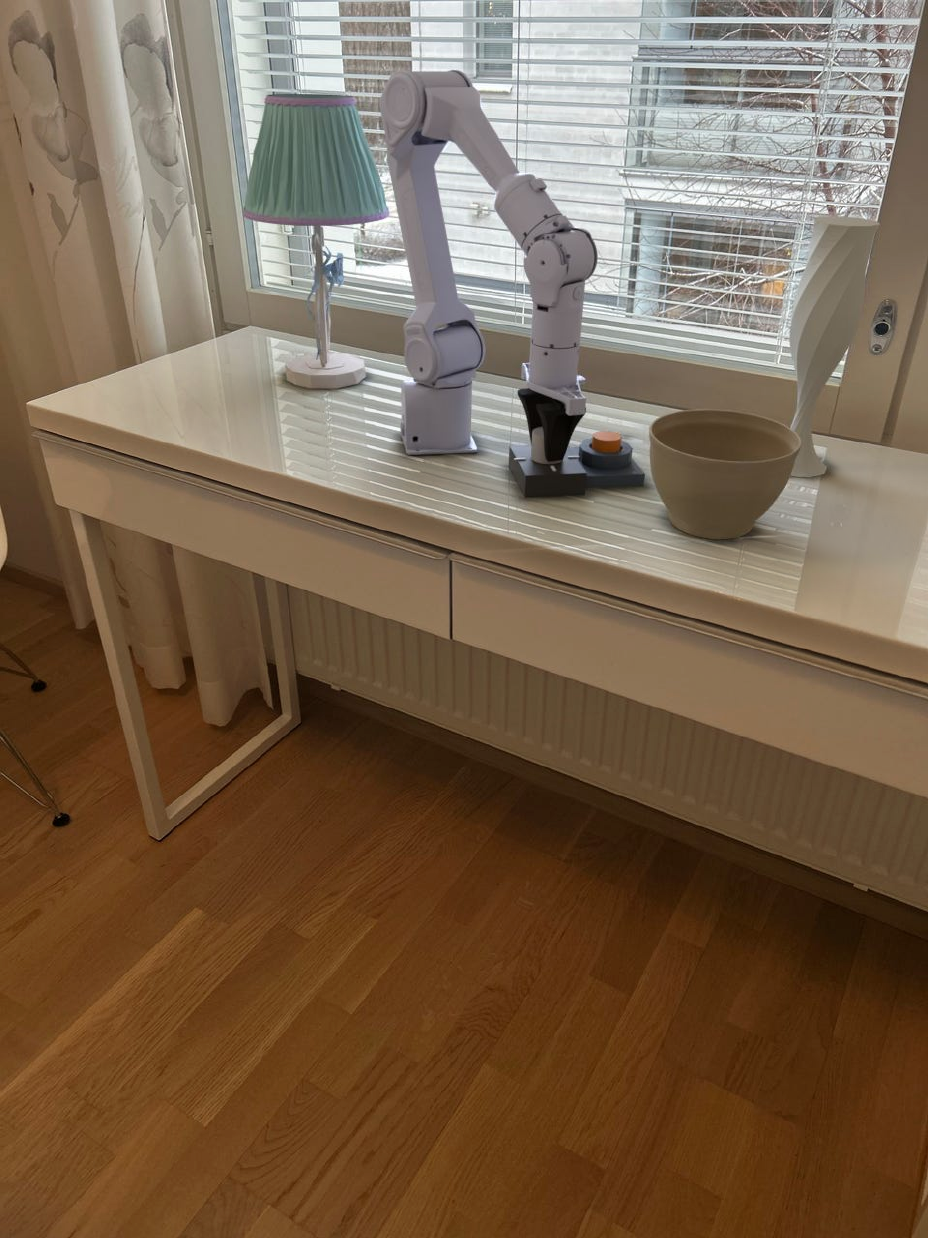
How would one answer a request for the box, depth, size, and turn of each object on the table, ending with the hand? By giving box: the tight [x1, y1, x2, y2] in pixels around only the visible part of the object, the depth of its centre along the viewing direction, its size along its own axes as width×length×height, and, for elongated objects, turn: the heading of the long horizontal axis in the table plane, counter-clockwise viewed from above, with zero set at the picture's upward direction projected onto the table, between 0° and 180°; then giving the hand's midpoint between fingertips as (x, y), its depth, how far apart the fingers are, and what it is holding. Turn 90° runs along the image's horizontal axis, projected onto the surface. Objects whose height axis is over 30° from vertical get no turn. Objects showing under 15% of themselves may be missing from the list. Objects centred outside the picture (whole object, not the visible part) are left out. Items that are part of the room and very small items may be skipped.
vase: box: [789, 215, 881, 478], centre depth 116 cm, size 9×8×30 cm
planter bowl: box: [648, 408, 801, 540], centre depth 105 cm, size 16×16×11 cm
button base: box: [569, 437, 646, 489], centre depth 119 cm, size 10×8×4 cm
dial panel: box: [507, 444, 587, 499], centre depth 117 cm, size 10×8×3 cm
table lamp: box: [242, 93, 390, 390], centre depth 142 cm, size 22×22×40 cm
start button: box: [591, 430, 622, 453], centre depth 118 cm, size 4×4×2 cm
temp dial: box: [531, 427, 562, 464], centre depth 115 cm, size 4×4×4 cm
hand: (547, 453), depth 116 cm, fingers closed on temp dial, 4 cm apart
